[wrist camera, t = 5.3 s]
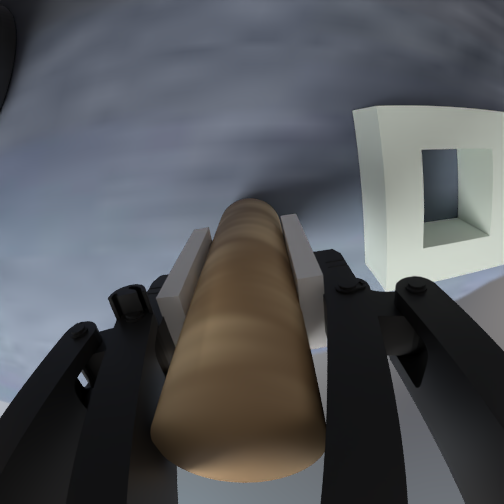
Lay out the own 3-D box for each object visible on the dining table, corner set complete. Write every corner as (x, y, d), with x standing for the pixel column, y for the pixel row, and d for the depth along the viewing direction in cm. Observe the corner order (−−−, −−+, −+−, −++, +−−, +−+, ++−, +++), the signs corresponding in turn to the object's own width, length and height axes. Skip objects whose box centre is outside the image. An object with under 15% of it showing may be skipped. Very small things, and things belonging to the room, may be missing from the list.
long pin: (226, 260, 19) (183, 482, 6) (214, 203, 18) (120, 397, 5) (284, 251, 19) (326, 474, 6) (276, 193, 17) (329, 383, 4)
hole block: (365, 263, 20) (385, 291, 16) (352, 110, 16) (376, 105, 12) (477, 242, 19) (507, 263, 15) (476, 111, 15) (512, 113, 12)
